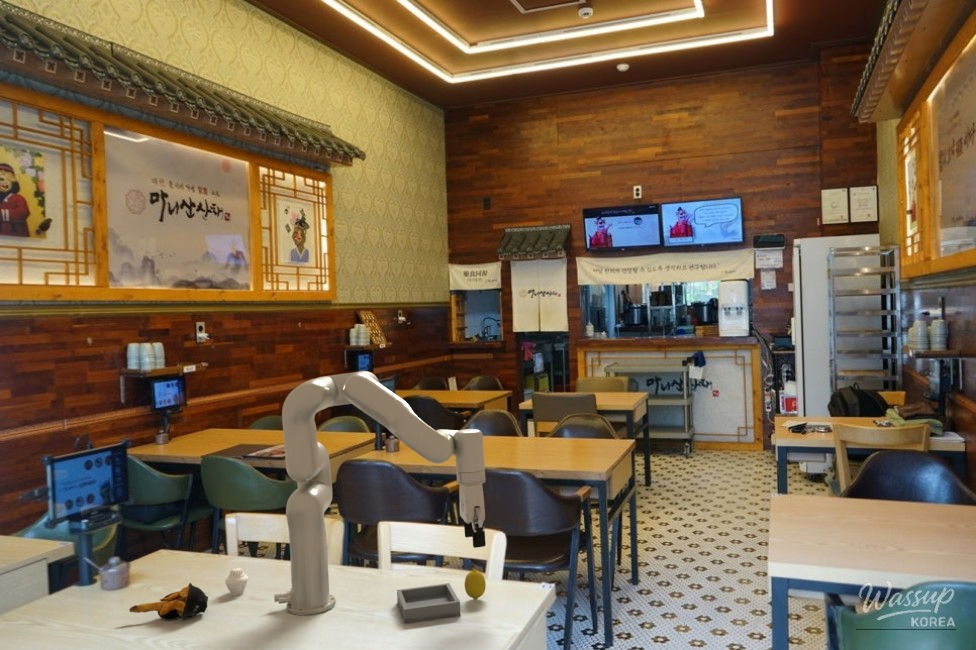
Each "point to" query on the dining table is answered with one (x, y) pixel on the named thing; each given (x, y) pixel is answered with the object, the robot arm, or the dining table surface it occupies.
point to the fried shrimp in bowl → (177, 604)
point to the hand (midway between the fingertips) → (475, 541)
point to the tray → (428, 603)
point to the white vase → (236, 581)
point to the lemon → (475, 584)
